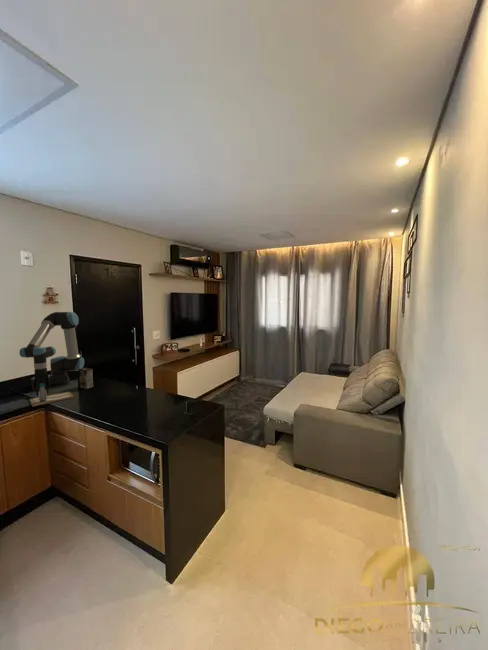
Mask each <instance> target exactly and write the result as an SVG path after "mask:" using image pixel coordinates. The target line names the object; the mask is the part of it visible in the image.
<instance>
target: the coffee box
mask: <svg viewBox="0 0 488 650" xmlns="http://www.w3.org/2000/svg"><path fill="white" fill-rule="evenodd" d="M93 371H94V370H93V368H88V367H83V368H81V369H79V371H78V376H79V377H78V378H79V379H78V381H79V388H82V389H86V390H87V389H91V388H92V387H94V379H93V378H94V376H93V375H94V373H93Z"/></svg>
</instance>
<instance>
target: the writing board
mask: <svg viewBox="0 0 488 650" xmlns="http://www.w3.org/2000/svg"><path fill="white" fill-rule="evenodd" d="M74 398H75V397H74V395H73V393H71V392H70V391H65V392H63V391H62V392H59V393H55V394H50V395H49V394H47V399H46V401H44V402H40V400H39V399H38V397H34V398H30V399H29V402H30V405H31V407H32V408H33V407H38V406H42V405H48V404H51V403H50V402H53V403H56V401H57V402H61V400H62V401H66V399H67V400H71V399H74Z"/></svg>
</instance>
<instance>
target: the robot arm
mask: <svg viewBox="0 0 488 650" xmlns="http://www.w3.org/2000/svg"><path fill="white" fill-rule="evenodd" d="M79 321H80V318H79V316H78V315H77V313H76V312H73V311H55V312H52V313H50V314H48V315H46V316H45V317H44V318H43V319H42V321H41V323H40V326H39V328H38V329H37V330H36V332H35V334H34V335H33V337H32V338H31V340H30V341H29V343H28V344H27V346H26V347H21V348H20V349H19V356H20V357H21V358H26V359H27V358H28V359H29V358H33V368H34V370H33V371H34V376H33V377H31V378H29V379H30V382H31V386H32V387H31V388H32V392H35V394H36V395H35V396H36V397H37V398H38V399H39V400H40V391H39V384H40V383H41V382H43V383H45V394H46V399H47V396H48V395H49V390H50V389H52V385H54V386H56V385H62V384H66V383H67V384H68V383H69V382H70V378H69V375H68V373H67V372H69V371H70V372H74V371H75V372H79V369H81V368H84V367H85V359H84V357H82V355H81V354H80V353H79V348H78V340H77V332H76V328H77V327H78V325H79ZM58 326H60V328H61V330H63V336H64V342H65V347H66V348H65V349H66V354H67V355H66V356H65V355H59V356H56V357H53V356H54V355H56V352H57V350H56V348H55V347H54V346H51V345H50V346H47V347H46V346H42V344H43V343H44V341H45V340H46V338H47V337H48V335H49V333H50V332H51V330H52V329H54V328H55V327H58ZM51 357H52V358H51ZM47 358H51V359H50V361H49V364H50V374H48V368H47V365H48V364H47ZM47 378H48V384H47V381H46V380H47ZM35 380H36V386H35Z"/></svg>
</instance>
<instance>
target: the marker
mask: <svg viewBox="0 0 488 650" xmlns="http://www.w3.org/2000/svg"><path fill="white" fill-rule="evenodd" d="M45 389H46V387H45V383H44V382H42V383H41V382H40V383H39V390H38V391H40V402H44V401H46V394H45Z"/></svg>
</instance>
